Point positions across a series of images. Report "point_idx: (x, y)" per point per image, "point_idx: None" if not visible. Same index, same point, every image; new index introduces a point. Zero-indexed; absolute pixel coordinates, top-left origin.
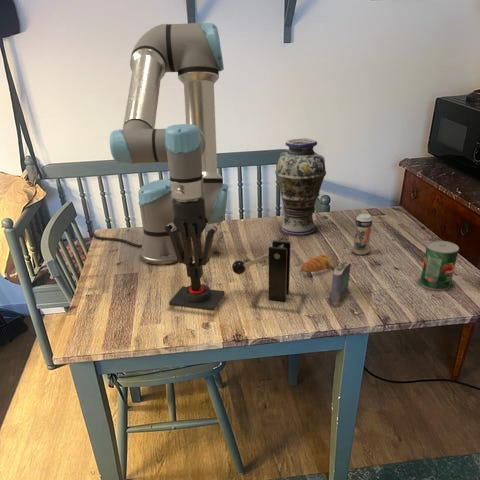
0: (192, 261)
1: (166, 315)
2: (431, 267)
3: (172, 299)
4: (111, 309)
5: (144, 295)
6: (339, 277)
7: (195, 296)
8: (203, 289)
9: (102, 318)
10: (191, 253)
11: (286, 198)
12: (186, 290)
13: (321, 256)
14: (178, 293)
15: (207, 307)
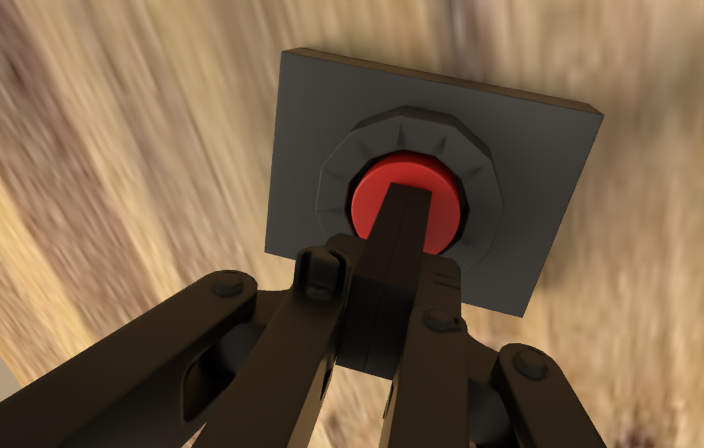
0: (343, 314)
1: (282, 281)
2: None
3: (273, 227)
4: (33, 226)
5: (95, 87)
6: None
7: None
8: (456, 224)
9: (45, 291)
10: (313, 394)
11: None
12: (337, 212)
13: None
14: (285, 157)
15: (488, 308)
